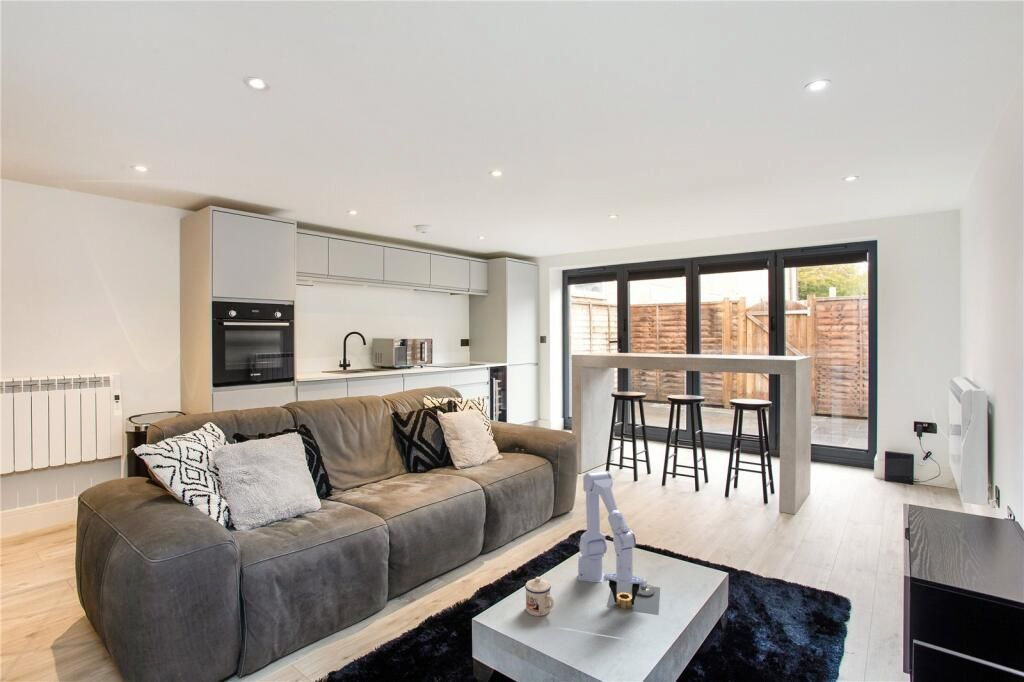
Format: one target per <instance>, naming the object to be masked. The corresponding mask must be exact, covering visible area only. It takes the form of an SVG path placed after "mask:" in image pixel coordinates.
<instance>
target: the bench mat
mask: <svg viewBox="0 0 1024 682" xmlns="http://www.w3.org/2000/svg"><path fill="white" fill-rule="evenodd" d="M632 585H633V584H626V585H624V584H621V583H620V582H617V594H618V593H621V592H623V593H629V594H630V595H631V596H632ZM652 586H653V585H652ZM653 587H654V595H652V596H650V597H642V596H638V595H636V597H635V600H634V605H632V608H630V609H621V608H619V607H618V606H617V603H615V601H614V596H613V593H612V591H611V590H610V591H609V596H608V599H607V603H606V608H610V609H615V610H616V609H617V610H623V611H629V612H637V613H643V614H649V615H655V616H659V615H660V613H659V612H660V599H661V587H660V586H653Z"/></svg>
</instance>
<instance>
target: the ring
mask: <svg viewBox="0 0 1024 682" xmlns="http://www.w3.org/2000/svg"><path fill="white" fill-rule="evenodd" d="M617 606H618V607H619V608H621V609H620V610H622V609H630V608H632V596H631V595H630V594H629V593H623V592H621V593H618V594H617Z"/></svg>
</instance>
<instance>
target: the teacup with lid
mask: <svg viewBox="0 0 1024 682" xmlns="http://www.w3.org/2000/svg"><path fill="white" fill-rule="evenodd" d="M551 586H552V585H551V584H550V582H549V581H548V580H546V579H544V578H543V579H542V578H541V577H540V576H536V577H535V578H533V579H532V578H531V579H529V580H527V582H526V583H525V586H524V588H525V610H526V612H527V613H528V614H529V615H530V616H535V617H542V616H546V615H548V614H549V613H550V611H551V610H552V609H553V608H554V605H555V601H554V598H553V597H552V595H551V588H552V587H551Z"/></svg>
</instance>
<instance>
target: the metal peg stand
mask: <svg viewBox="0 0 1024 682" xmlns="http://www.w3.org/2000/svg"><path fill="white" fill-rule="evenodd" d="M654 587H655V586H654ZM654 587H653V585H651V584H648V581H647V580H646V579H645V587H643V586H642V585H640V586H639V591H638V592H637V594H636V595H638V596H642V597H650V596H652V595H654Z"/></svg>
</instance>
